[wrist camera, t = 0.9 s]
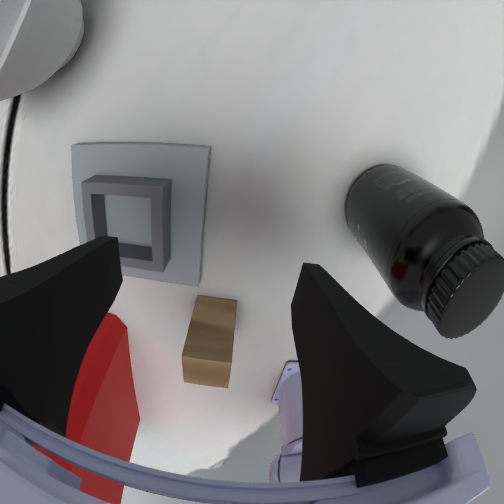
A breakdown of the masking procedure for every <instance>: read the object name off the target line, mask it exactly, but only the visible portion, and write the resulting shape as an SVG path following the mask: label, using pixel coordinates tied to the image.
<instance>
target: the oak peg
mask: <svg viewBox="0 0 504 504" xmlns="http://www.w3.org/2000/svg"><path fill="white" fill-rule="evenodd" d="M236 305H237V300H231V299H223V298H216V297H208V296H201V295H198V296H197V299H196V303H195V307H194V310H193V314H192V318H191V322H190V325H189V329H188V333H187V337H186V341H185V345H184V349H183V353H182V366H183V377H184V382H187V383H193V384H200V385H207V386H214V387H222V388H228V384H229V377H230V370H231V364H232V352H233V340H234V328H235V316H236Z"/></svg>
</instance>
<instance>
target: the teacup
mask: <svg viewBox="0 0 504 504" xmlns="http://www.w3.org/2000/svg"><path fill="white" fill-rule="evenodd" d="M82 16H83V10H82V5H81V1H80V0H0V101H2V100H5V99H8V98H11V97H14V96H18V95H20V94H23V93H26V92H28V91H30V90H32V89H34V88H36V87H38V86H39V85H41V84H42V83H44V82H45V81H46V80H48V79H49V78H50V77H51V76H52V75H53V74H54V73H55V72H56V71H57V70H59V69H61V68H62V67H63V66H65V65H66V64H67V63H68V62H69V61H70V60H71V58H72V57H73V56H74V55H75V53H76V51H77V50H78V48H79V46H80V44H81V41H82V38H83V35H84V22H83V19H82Z"/></svg>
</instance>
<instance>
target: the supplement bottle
mask: <svg viewBox="0 0 504 504" xmlns="http://www.w3.org/2000/svg"><path fill="white" fill-rule="evenodd" d="M346 216H347V221H348V225H349V227H350V229H351V231H352V233H353V234H354V236H355V237H356V239H357V241H358V242H359V243H360V245H361V246H362V248H363V249H364V251H365V252H366V254H367V255H368V257H369V258H370V260H371V261H372V263H373V264H374V266H375V267H376V269H377V270H378V272H379V273H380V275H381V276H382V278H383V279H384V281H385V283H386V284H387V286H388V287H389V289H390V291H391V292H392V294H393V295H394V296H395V298H396V299H397V300H398V301H399V302H400V303H401V304H403V305H404V306H406V307H408V308H410V309H413V310H417V311H424V312H425V314H426V315H427V317H428V318H429V319H430V320H431V321H432V322H433V324H434V326H435V327H436V329H437V330H438V332H439V333H440V334H441V335H442V336H444V337H445V338H450V339H452V338H458V337H461V336H463V335H465V334H468V333H469V332H471V331H472V330H474V329H475V328H477V326H479V325H481V323H482V322H483V321H484V320H486V319H487V318H488V316H489V315H490V314H491V313H492V312H493V310H494V309H495V307H496V306H497V305H498V302H499V301H500V299H501V298H502V295H503V293H504V258H503V257H502V256H501V255H500V254H498V253H497V252H496V251H495V250H494V249H493V247H492V245H491V244H490V243H489V242H487V241H486V240H485V239H484V235H483V230H482V226H481V223H480V221H479V219H478V217H477V215H476V214H475V213H474V212H473V210H472V209H471V208H470V207H468V206H467V205H466V204H464V203H463V202H461V201H460V200H458V199H457V198H455V197H453V196H452V195H450V194H449V193H447V192H445V191H444V190H442V189H440V188H438V187H437V186H435V185H433V184H432V183H430V182H428V181H426V180H424V179H423V178H421V177H419V176H417V175H415V174H413V173H411V172H409V171H407V170H405V169H403V168H401V167H398V166H394V165H382V166H378V167H375V168H372V169H370V170H369V171H367V172H366V173H364V174H363V175H362V176H361V177H360V178H359V179H358V180H357V181H356V183H355V184H354V186H353V187H352V189H351V191H350V194H349V196H348V200H347V206H346Z"/></svg>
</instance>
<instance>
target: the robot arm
mask: <svg viewBox="0 0 504 504" xmlns="http://www.w3.org/2000/svg"><path fill="white" fill-rule="evenodd" d="M122 281H123V278H122V271H121V263H120V254H119V244H118V237H112V236H102V237H99V238H96V239H93V240H91V241H89V242H86V243H84V244H82V245H80V246H77V247H75V248H73V249H71V250H69V251H67V252H65V253H63V254H60V255H58V256H56V257H53V258H51V259H49V260H47V261H45V262H42V263H40V264H38V265H35V266H33V267H30V268H27V269H24V270H22V271H19V272H15V273H12V274H9V275H5V276H2V277H0V504H111V503H108V502H105V501H103V500H100V499H98V498H95V497H93V496H90V495H88V494H86V493H83V492H81V491H80V484H81V481H82V480H81V478H80V477H78V476H77V475H75V474H73V473H71V472H69V471H68V470H66V469H64V468H63V467H61V466H60V465H58V464H57V463H56V462H54V461H53V460H52V459H51V458H49V457H47V456H46V455H44V454H42V453H41V452H39V451H38V450H36V449H35V447H34V445H36V446H37V447H39V448H41V449H42V450H44V451H46V452H48V453H50V454H52V455H53V456H55V457H57V458H59V459H61V460H63V461H65V462H67V463H69V464H71V465H74V466H76V467H78V468H80V469H83V470H85V471H87V472H90V473H92V474H95V475H97V476H100V477H102V478H105V479H108V480H110V481H113V482H116V483H119V484H122V485H125V486H129V487H132V488H135V489H139V490H143V491H146V492H150V493H154V494H158V495H162V496H167V497H172V498H177V499H183V500H188V501H195V502H202V503H210V504H467V503H469V502H470V501H472V500H473V499H475V498H476V497H477V496H479V495H480V494H482V493H483V492H484V491H486V490H487V489H489V488H490V486H491V483H490V480H489V476H488V473H487V469H486V466H485V463H484V460H483V457H482V454H481V451H480V448H479V445H478V442H477V439H476V437H475V434H474V432H470V433H468V434H465V435H463V436H461V437H459V438H456V439H454V440H452V441H450V442H448V443H447V444H444V441H443V437H445V436H446V435H447V430H446V427H445V425H446V424H447V423H448V422H450V421H451V420H452V419H453V418H454V417H455V416H457V415H458V414H459V413H460V412H461V411H462V410H463V409H464V408H465V407H466V406H467V405H468V404H469V402H470V401H471V400H472V399H473V397H474V395H475V393H476V386H475V384H474V382H473V380H472V378H471V376H470V374H469V372H468V371H467V369H466V368H464V367H462V366H459V365H457V364H454V363H452V362H449V361H447V360H444V359H442V358H440V357H438V356H435V355H434V354H432V353H430V352H428V351H426V350H424V349H422V348H420V347H418V346H417V345H414V344H413V343H411V342H410V341H408V340H407V339H405V338H404V337H402V336H400V335H399V334H397V333H396V332H394V331H393V330H391V329H390V328H389V327H387V326H386V325H385V324H383V323H382V322H381V321H379V320H378V319H377V318H376V317H374V316H373V315H372V314H371V313H369V312H368V311H367V310H366V309H365V308H364V307H363V306H362V305H360V304H359V303H358V302H357V301H356V300H355V299H354V298H353V297H352V296H351V295H350V294H349V293H348V292H347V291H346V290H345V289H344V288H343V287H342V286H341V285H340V284H339V283H338V282H337V281H336V280H335V279H334V278H333V277H332V276H331V275H330V274H329V273H328V272H327V271H326V270H324V269H323V268H322V267H321V266H320V265H318V264H311V263H303V265H302V269H301V273H300V276H299V280H298V283H297V287H296V290H295V293H294V297H293V300H292V304H291V316H292V329H293V335H294V341H295V347H296V352H297V358H298V362H288V363H286V365H285V368H284V370H283V373H282V375H281V378H280V380H279V383H278V385H277V388H276V390H275V393H274V395H273V397H272V400H271V403H272V404H278V405H279V423H280V439H281V443H282V445H283V446H281V454H277V455H276V456H275V457H274V459H273V460H272V462H271V465H270V469H269V481H270V483H261V482H259V483H258V482H236V481H223V480H213V479H205V478H199V477H192V476H186V475H180V474H175V473H170V472H165V471H161V470H157V469H152V468H148V467H145V466H141V465H137V464H134V463H130V462H127V461H124V460H121V459H118V458H115V457H112V456H109V455H106V454H103V453H100V452H98V451H95V450H93V449H90V448H88V447H85V446H83V445H80V444H78V443H76V442H73V441H71V440H69V439H67V438H65V436H66V430H67V422H68V415H69V409H70V404H71V399H72V395H73V391H74V387H75V383H76V380H77V376H78V373H79V370H80V367H81V364H82V361H83V359H84V356H85V353H86V351H87V348H88V346H89V344H90V342H91V340H92V338H93V337H94V335H95V333H96V331H97V329H98V328H99V326H100V324H101V322H102V321H103V319H104V317H105V316H106V314H107V312H108V310H109V309H110V307H111V305H112V304H113V302H114V300H115V298H116V296H117V293H118V291H119V289H120V286H121V284H122ZM33 444H34V445H33Z"/></svg>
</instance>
